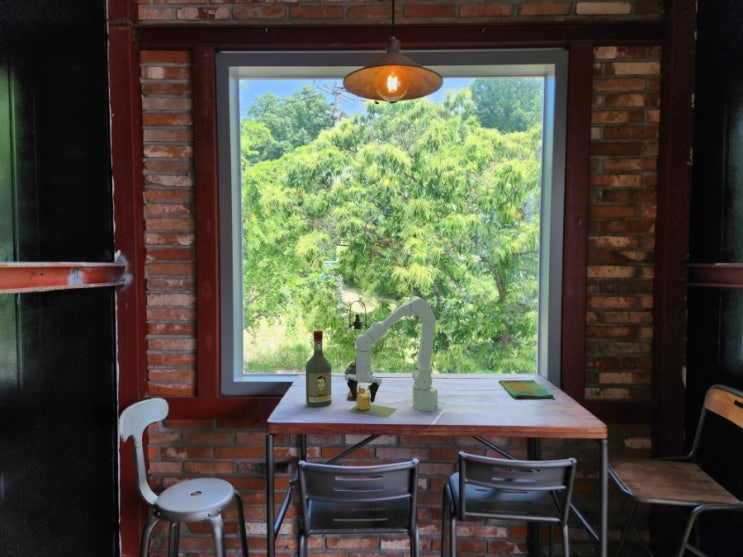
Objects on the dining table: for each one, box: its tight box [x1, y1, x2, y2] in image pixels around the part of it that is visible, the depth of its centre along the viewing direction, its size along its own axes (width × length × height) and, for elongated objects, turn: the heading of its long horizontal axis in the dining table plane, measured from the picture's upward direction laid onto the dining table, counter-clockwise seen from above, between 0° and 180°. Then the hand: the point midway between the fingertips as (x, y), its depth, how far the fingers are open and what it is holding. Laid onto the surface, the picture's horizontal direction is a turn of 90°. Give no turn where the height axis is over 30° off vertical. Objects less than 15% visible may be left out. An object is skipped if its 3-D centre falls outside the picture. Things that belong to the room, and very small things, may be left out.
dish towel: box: [498, 379, 555, 400], centre depth 192 cm, size 17×23×2 cm
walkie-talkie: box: [346, 385, 371, 402], centre depth 185 cm, size 9×4×20 cm
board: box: [348, 403, 398, 419], centre depth 166 cm, size 16×10×1 cm, turn 65°
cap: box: [356, 394, 371, 410], centre depth 167 cm, size 5×5×4 cm
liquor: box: [305, 330, 333, 409], centre depth 172 cm, size 9×9×30 cm
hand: (363, 400), depth 167 cm, fingers open, 7 cm apart
